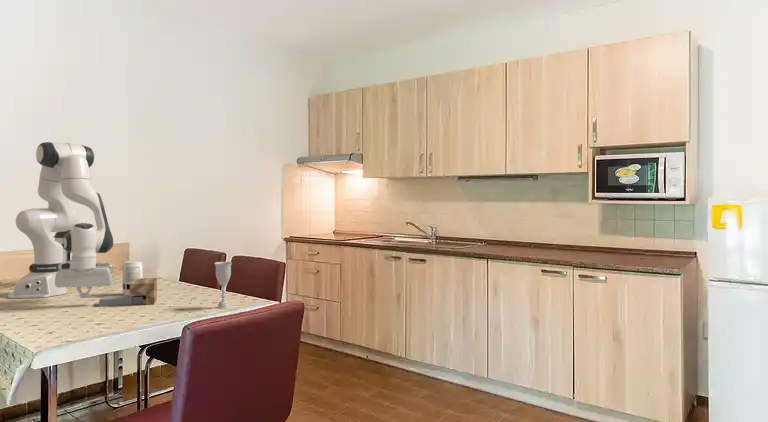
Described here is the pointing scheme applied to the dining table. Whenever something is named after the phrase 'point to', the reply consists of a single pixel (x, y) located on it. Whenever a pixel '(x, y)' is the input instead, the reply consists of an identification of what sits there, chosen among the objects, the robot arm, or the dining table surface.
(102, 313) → the dining table surface
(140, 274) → the supplement can
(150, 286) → the shelf block
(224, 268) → the chalice
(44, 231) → the robot arm
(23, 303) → the dining table surface
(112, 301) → the board
